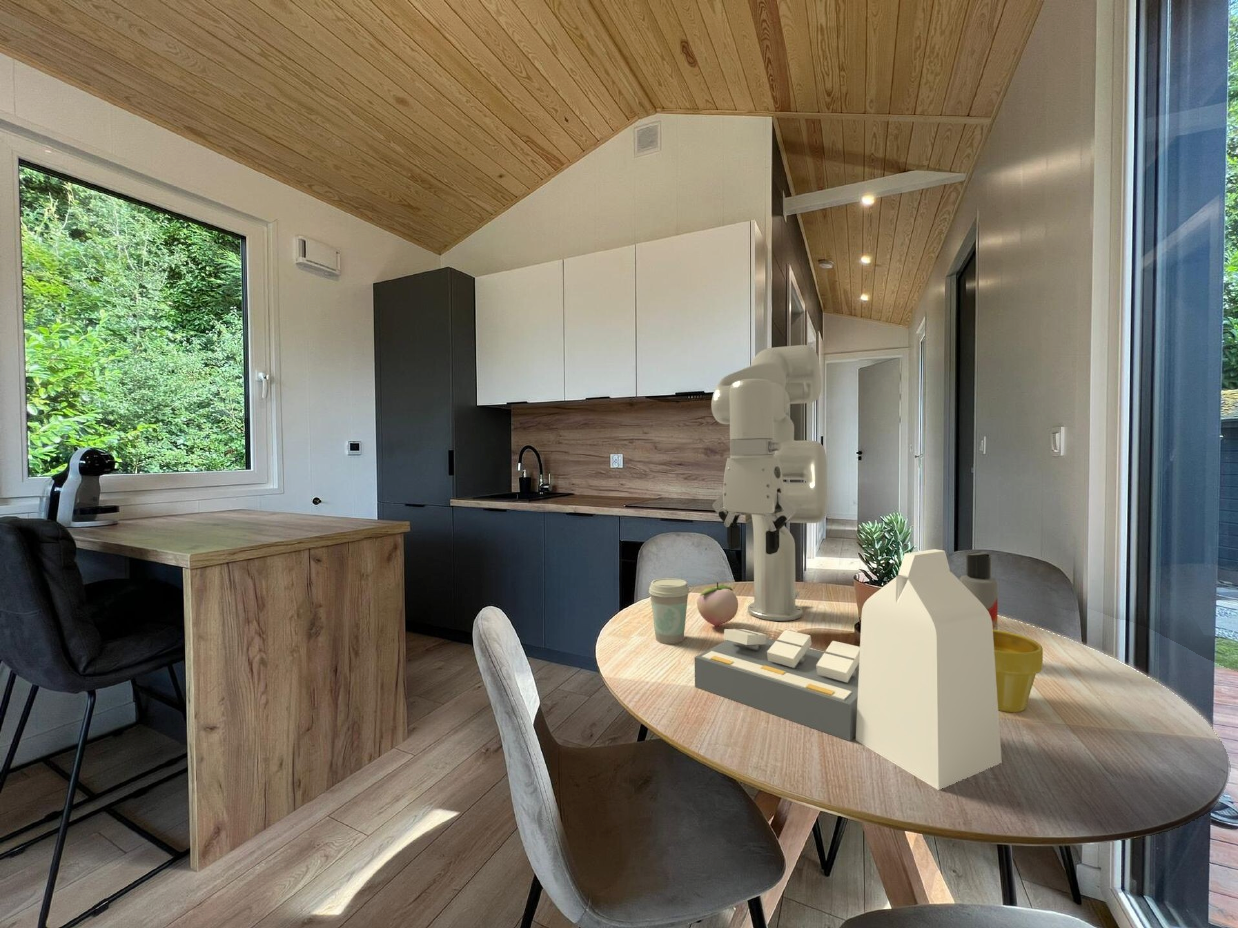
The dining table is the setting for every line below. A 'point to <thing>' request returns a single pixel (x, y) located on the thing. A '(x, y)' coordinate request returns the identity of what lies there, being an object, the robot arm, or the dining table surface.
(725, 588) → the decorative fruit
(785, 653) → the rocker
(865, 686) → the milk
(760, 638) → the rocker
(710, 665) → the switch unit
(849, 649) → the rocker
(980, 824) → the dining table surface
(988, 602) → the lotion bottle
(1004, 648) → the plant pot
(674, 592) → the coffee cup
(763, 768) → the dining table surface
